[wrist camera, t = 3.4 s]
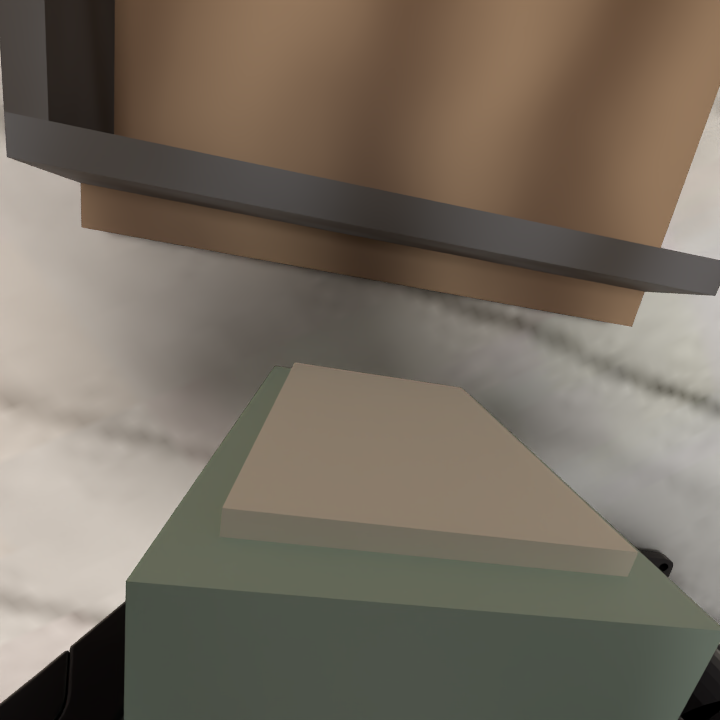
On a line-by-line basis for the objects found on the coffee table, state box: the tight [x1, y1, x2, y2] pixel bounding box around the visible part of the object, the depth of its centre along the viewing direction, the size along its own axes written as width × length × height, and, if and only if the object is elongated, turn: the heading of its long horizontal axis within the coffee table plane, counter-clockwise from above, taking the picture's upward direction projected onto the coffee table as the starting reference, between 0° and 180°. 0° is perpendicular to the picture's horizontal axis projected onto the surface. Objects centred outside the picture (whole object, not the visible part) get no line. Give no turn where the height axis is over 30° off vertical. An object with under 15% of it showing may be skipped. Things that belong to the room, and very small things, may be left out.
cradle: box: [0, 0, 720, 327], centre depth 10 cm, size 20×14×4 cm
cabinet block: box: [124, 362, 720, 720], centre depth 6 cm, size 5×7×6 cm
